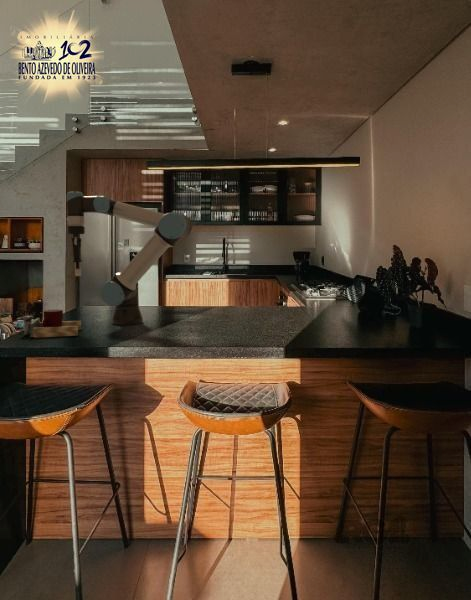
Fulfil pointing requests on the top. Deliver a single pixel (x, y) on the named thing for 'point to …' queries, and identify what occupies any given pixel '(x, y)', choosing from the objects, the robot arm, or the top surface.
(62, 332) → the wooden tray
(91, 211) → the robot arm
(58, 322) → the mug
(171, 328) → the top surface
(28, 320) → the winch post
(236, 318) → the top surface
